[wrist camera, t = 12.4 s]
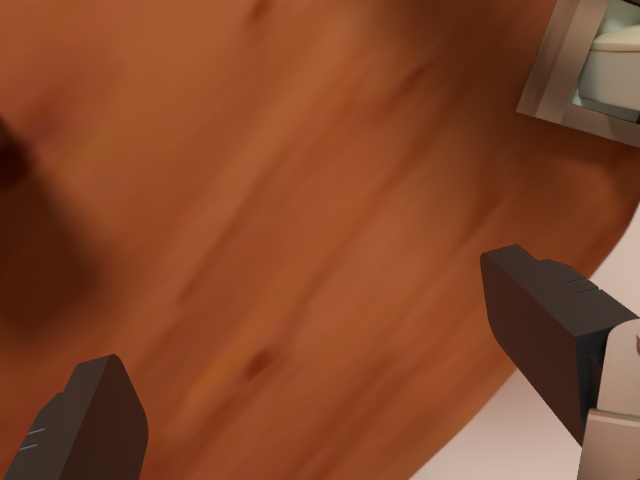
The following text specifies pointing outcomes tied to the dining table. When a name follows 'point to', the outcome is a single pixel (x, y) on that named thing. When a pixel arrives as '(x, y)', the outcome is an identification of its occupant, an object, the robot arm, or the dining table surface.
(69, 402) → the robot arm
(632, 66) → the skincare box
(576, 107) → the wooden compartment tray
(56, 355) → the dining table surface
